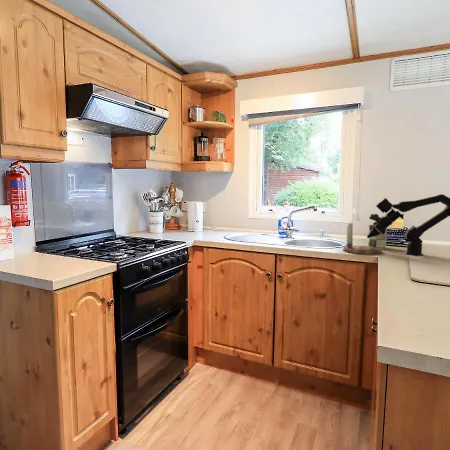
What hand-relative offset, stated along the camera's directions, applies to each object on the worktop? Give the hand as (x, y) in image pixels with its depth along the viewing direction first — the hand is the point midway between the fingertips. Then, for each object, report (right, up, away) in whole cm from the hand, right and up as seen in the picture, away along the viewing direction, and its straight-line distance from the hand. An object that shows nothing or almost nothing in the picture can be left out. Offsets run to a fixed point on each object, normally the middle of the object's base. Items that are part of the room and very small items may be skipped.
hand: (367, 237), depth 194 cm
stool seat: (-2, -8, +2) cm, 9 cm away
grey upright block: (+13, -7, +16) cm, 22 cm away
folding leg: (-9, -6, +4) cm, 11 cm away
